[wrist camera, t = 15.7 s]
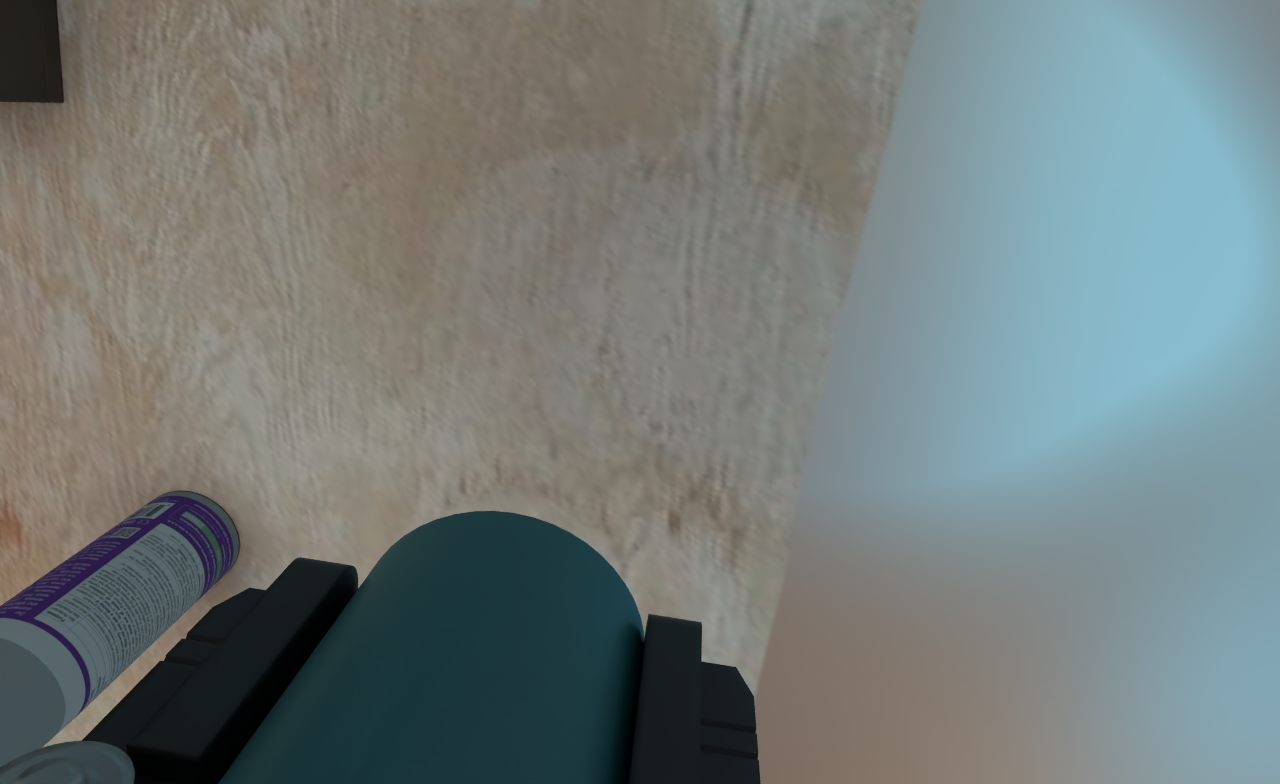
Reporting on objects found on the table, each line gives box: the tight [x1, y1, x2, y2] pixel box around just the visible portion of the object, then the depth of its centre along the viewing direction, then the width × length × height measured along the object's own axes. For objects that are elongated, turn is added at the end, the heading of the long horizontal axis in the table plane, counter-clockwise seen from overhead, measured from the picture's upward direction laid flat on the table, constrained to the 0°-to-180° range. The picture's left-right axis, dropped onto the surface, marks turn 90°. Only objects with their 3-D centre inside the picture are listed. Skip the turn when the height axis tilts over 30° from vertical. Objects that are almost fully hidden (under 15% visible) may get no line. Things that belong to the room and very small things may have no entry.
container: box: [0, 491, 239, 767], centre depth 32 cm, size 5×5×15 cm
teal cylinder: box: [218, 511, 644, 784], centre depth 9 cm, size 4×4×5 cm
